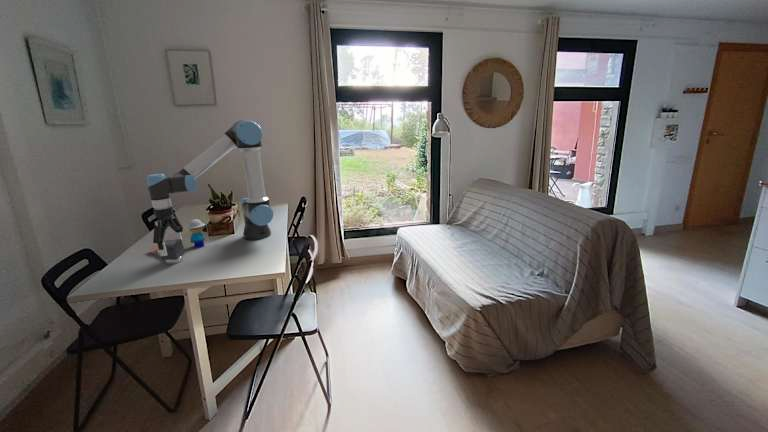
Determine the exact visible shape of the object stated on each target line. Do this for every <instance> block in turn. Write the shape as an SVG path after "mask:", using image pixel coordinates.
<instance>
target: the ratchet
mask: <svg viewBox="0 0 768 432" xmlns="http://www.w3.org/2000/svg"><path fill="white" fill-rule="evenodd" d="M149 249H150V253H152V254H153V255H156V256H158V257H161V255H160V251H159V248H158V245H155V246H151V247H149ZM161 258H162V257H161ZM183 261H184V258H183V255H182V256H181V257H179V258H178V259H171V260H165V264H166V265H176V264H179V263H181V262H183Z"/></svg>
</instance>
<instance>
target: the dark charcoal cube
mask: <svg viewBox="0 0 768 432" xmlns="http://www.w3.org/2000/svg"><path fill="white" fill-rule="evenodd" d="M182 241H183V238H182V239H178V240H176V239H166V240H165V241H164V242H165V246H166V251H167V256H161V261H162V260H163V261H164V260H165V261H166V260H171V259H178V258H179V257H181V256H182V257H183V256H184V255H185V254H186V253H185V249H184V241H183V242H182Z"/></svg>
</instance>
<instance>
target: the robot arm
mask: <svg viewBox="0 0 768 432" xmlns="http://www.w3.org/2000/svg"><path fill="white" fill-rule="evenodd" d="M262 138H263V130H262V128H261V126H260V125H259V124H258V123H257V122H255V121H253V120H252V119H251V120H250V119H244V120H238V121H236V122H235V123H233V125H231V126H230V127H229V129H227V130H226V131H225V132H224V133H223V134H222V137H221V138H220V139H218V140H217V141H216V142H214V143H213V144H212V145H211V146H209V147H208V148H207V149H206V150H204V151H203V152H202V153H201V154H199V155H198V156H197V157H195V158H194V159H192V161H191V162H189V163H188V164H186V165H185V166H184V167H183V168H182V169H180V170H179V171H177V172H175V173H173V174H172V175H171V177H170V176H169V177H167V176H166V174H164V173H155V174H149V175H147V176H146V178H145V179H146V184H147V189H148V193H149V197H150V200H151V204H152V205H151V206H152V208H153V215H154V217H155V218H157V221H153V227H154V228H153V237H152V238H153V239H152V240H153V241H152V243H153V244H157V246H158V248H159V251H160V255H161V256H167V251H166V246H165V241H164V237H165V234H166V231H167V230H168V228H170V229H171V230H173V231H174V238H175V239H174V240H178V239H182V242H183V243H184V240H183V238H182V232H183V231H184V228H183V227H184V226H182V223H181V222H180V220H179V218H178V217H177V215H176V213H174V209H173V206H172V205H173V204H172V200H171V196H170V195H171V194H177V193H187V192H189V193H190V192H193V191H197V189H198V183H197V178H198V177H200V176H201V175H203V173H205V172H206V171H207V170H209V169H210V168H211V167H212V166H213V165H215V164H216V163H217V162H219V161H220V160H221V159H222V158H223V157H225V156H226V155H227V154H229V153H230V152H231V151H232V150H233V149H237V150H239V151H241V157H242V163H243V170H244V175H245V176H244V177H245V182H246V190H247V195H248V197H244V198H241V203H240V204H241V208H242V215H243V220H244V228H243V232H242V233H243V234H242V236H243V237H242V238H243V239H244V240H247V241H248V240H249V241H256V240H261V239H265V238H268V237H270V236H271V234H272V231H271V228H270V227H269V223H270V222H271V221H272V220H273V218H274V211H273V209H272V207H271V202H270V198H269V196H267V194H266V189H265V180H264V173H263V166H262V159H261V153H260V150H261V149H262V147H263V145H262Z"/></svg>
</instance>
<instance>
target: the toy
mask: <svg viewBox="0 0 768 432" xmlns="http://www.w3.org/2000/svg"><path fill="white" fill-rule="evenodd" d="M186 228H187V229H189V231H190V233H192V234H191V235H190V239H189V240H190V241H189V242H190V243H191V244H192V243H194V247H197V248H203V247H205V242H204V241H206V237H205V235H204V234H203V233H202V232H204V233H208V226H207V225H206V224H205V223H203V222H202V221H201V220H200V219H191V221H190V222H189V223H188V225H187V226H186Z"/></svg>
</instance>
